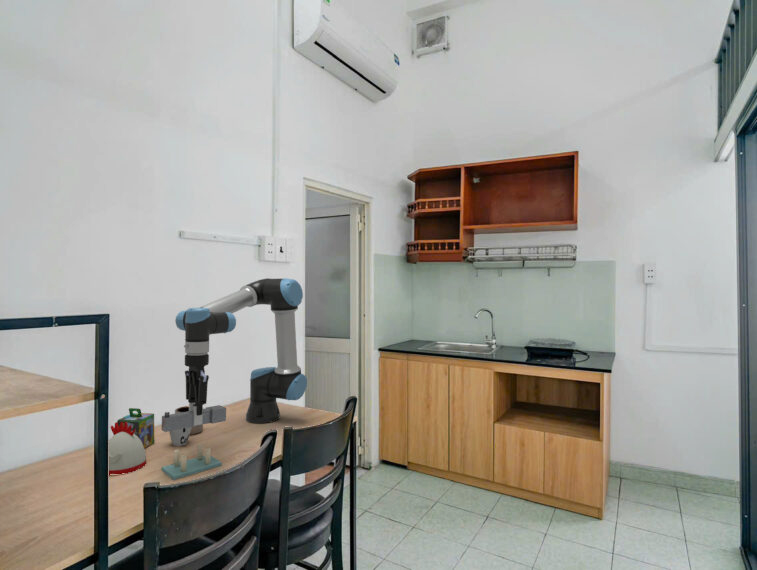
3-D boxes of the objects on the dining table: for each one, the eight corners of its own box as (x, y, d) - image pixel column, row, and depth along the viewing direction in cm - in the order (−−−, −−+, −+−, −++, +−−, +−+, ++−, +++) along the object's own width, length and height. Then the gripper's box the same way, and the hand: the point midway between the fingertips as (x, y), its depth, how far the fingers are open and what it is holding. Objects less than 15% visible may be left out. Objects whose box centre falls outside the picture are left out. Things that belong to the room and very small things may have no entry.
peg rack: (208, 457, 157) (208, 440, 157) (221, 465, 150) (222, 447, 150) (161, 470, 145) (161, 452, 145) (173, 479, 138) (173, 460, 138)
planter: (168, 434, 179) (168, 410, 179) (188, 426, 189) (189, 404, 189) (188, 438, 175) (188, 414, 175) (208, 430, 185) (208, 407, 185)
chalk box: (155, 443, 169) (155, 404, 169) (139, 452, 160) (139, 411, 160) (132, 441, 170) (133, 403, 170) (115, 450, 161) (116, 410, 161)
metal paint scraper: (219, 417, 157) (219, 401, 157) (225, 420, 153) (226, 404, 153) (160, 429, 142) (160, 411, 142) (166, 432, 139) (166, 414, 139)
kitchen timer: (115, 457, 155) (116, 415, 155) (154, 459, 154) (155, 416, 154) (88, 474, 141) (89, 428, 141) (130, 476, 140) (131, 429, 140)
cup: (182, 448, 164) (183, 421, 164) (163, 446, 166) (163, 420, 166) (195, 441, 172) (196, 415, 172) (177, 439, 174) (177, 413, 174)
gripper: (176, 351, 151) (174, 420, 151) (196, 357, 140) (194, 431, 140) (197, 349, 156) (196, 415, 156) (218, 355, 145) (217, 426, 145)
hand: (195, 423), depth 148 cm, fingers closed on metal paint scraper, 3 cm apart
